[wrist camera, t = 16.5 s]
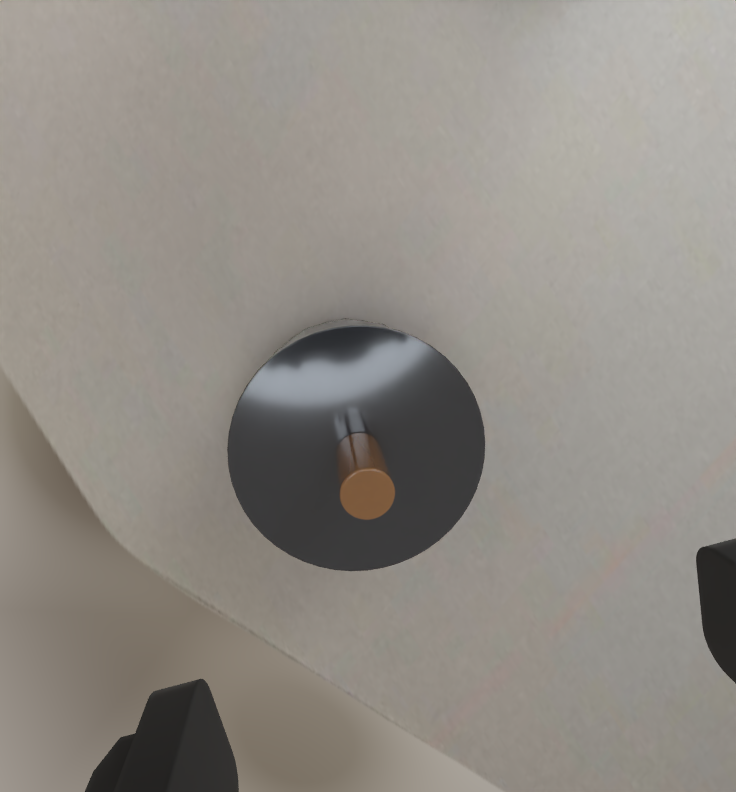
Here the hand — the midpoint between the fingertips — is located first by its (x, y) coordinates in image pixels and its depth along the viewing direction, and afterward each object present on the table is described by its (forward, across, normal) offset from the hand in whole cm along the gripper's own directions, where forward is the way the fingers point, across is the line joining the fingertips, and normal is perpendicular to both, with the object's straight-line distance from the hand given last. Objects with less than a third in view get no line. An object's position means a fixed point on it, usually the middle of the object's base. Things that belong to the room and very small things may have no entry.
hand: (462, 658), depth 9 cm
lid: (+18, +1, +3) cm, 19 cm away
